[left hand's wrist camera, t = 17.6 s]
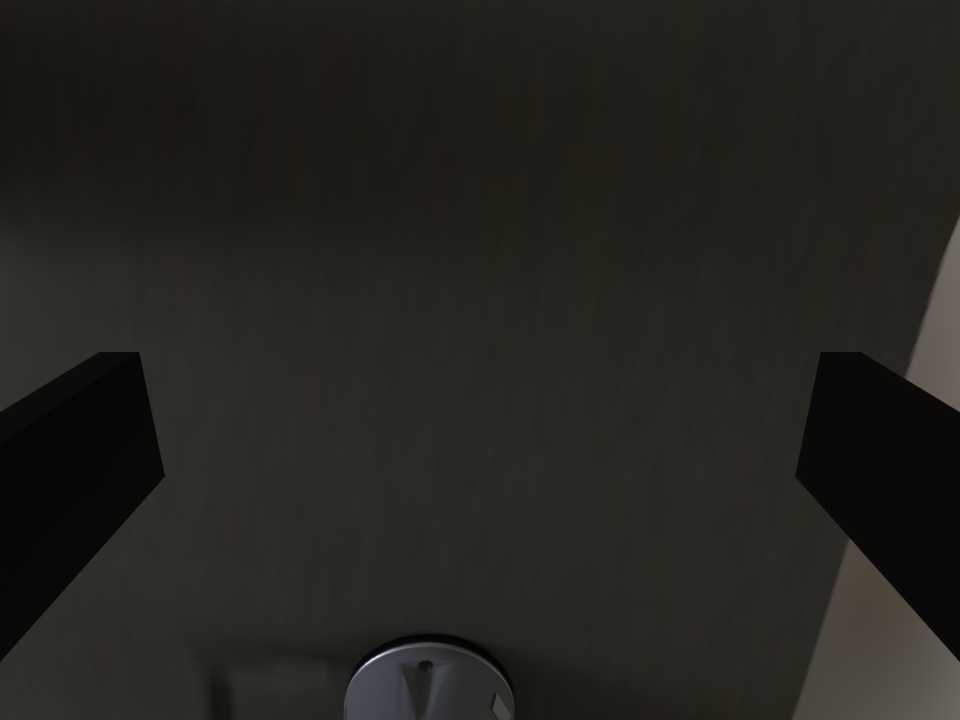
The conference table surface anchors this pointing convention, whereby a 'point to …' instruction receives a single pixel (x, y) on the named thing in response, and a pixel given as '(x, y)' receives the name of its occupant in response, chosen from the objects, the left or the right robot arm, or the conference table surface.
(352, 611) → the conference table surface
